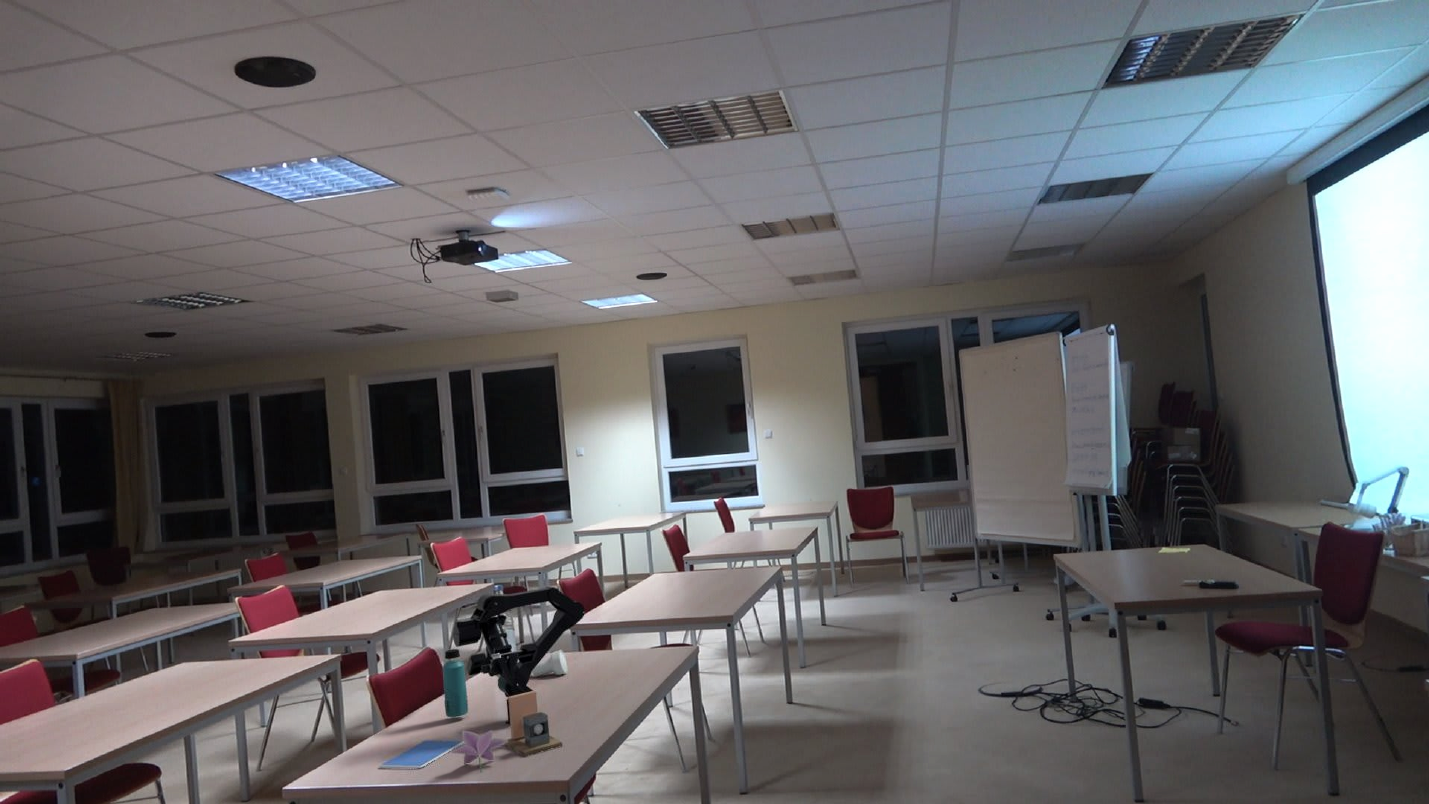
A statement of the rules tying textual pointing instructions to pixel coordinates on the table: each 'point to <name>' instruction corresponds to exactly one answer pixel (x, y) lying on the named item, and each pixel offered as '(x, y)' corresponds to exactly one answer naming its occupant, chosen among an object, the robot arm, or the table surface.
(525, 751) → the tan board
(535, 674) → the spotlight
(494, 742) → the lily
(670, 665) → the table surface
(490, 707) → the table surface
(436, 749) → the tablet computer
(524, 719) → the charcoal metal brick
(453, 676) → the beverage bottle
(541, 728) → the salmon pink upright block
